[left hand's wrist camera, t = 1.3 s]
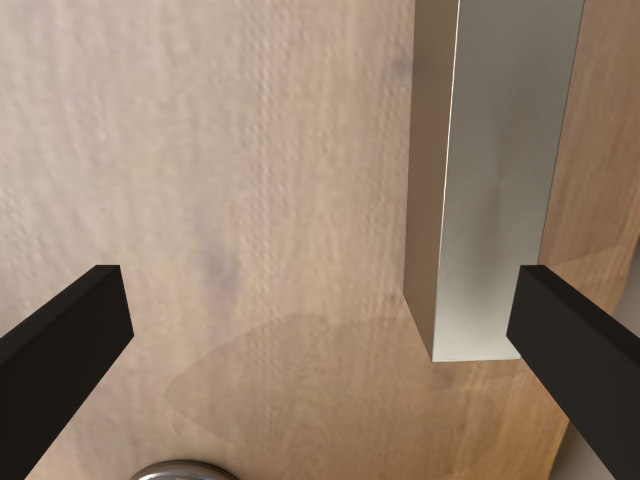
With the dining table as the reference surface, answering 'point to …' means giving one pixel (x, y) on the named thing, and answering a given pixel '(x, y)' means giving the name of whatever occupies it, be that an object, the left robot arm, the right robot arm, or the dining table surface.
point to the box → (481, 162)
